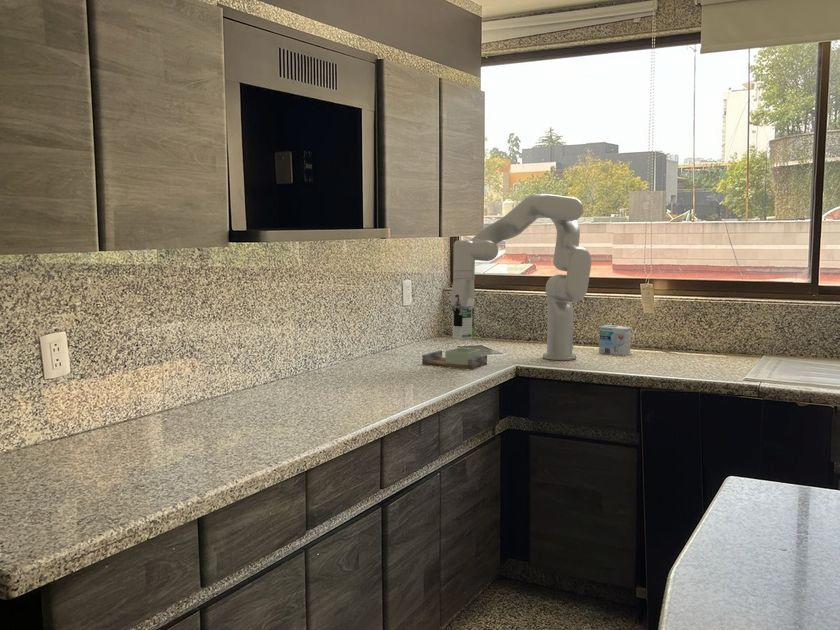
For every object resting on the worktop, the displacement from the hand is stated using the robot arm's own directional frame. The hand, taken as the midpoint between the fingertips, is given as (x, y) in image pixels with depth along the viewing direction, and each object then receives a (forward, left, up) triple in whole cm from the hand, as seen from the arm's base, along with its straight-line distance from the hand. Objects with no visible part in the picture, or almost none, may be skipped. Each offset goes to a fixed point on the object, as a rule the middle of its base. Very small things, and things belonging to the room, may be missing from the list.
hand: (463, 324), depth 273 cm
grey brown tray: (0, -3, -15) cm, 15 cm away
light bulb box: (-54, +39, -15) cm, 68 cm away
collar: (0, 0, -14) cm, 14 cm away
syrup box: (0, 0, -5) cm, 5 cm away
